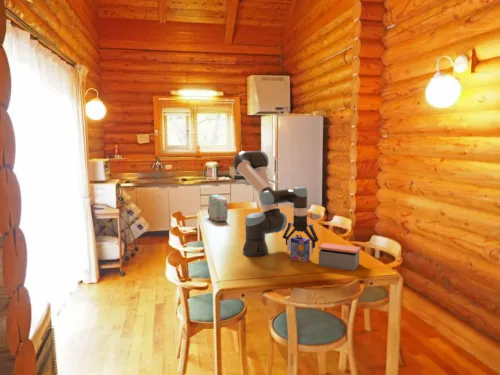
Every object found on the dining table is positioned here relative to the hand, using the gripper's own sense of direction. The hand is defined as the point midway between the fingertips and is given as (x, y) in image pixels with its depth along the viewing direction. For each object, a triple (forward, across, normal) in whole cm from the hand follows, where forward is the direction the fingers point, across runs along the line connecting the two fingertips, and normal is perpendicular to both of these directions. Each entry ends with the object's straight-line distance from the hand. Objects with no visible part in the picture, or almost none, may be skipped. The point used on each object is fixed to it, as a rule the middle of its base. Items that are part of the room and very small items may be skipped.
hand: (300, 252), depth 213 cm
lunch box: (+3, -96, +72) cm, 120 cm away
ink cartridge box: (+5, 0, 0) cm, 5 cm away
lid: (-4, +22, 0) cm, 22 cm away
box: (+5, +22, 0) cm, 22 cm away
